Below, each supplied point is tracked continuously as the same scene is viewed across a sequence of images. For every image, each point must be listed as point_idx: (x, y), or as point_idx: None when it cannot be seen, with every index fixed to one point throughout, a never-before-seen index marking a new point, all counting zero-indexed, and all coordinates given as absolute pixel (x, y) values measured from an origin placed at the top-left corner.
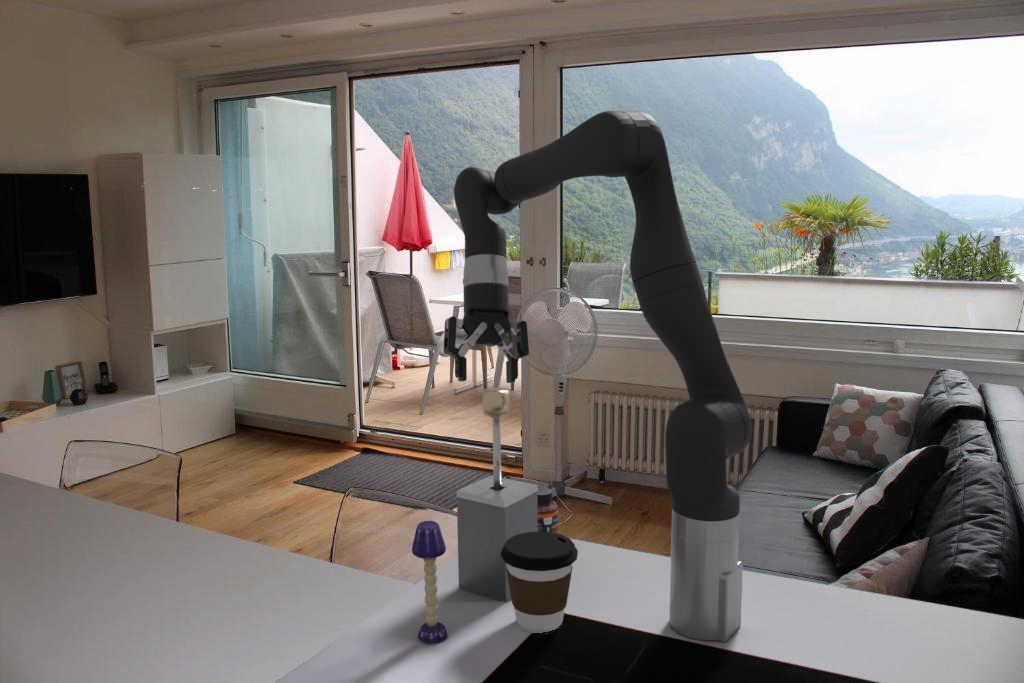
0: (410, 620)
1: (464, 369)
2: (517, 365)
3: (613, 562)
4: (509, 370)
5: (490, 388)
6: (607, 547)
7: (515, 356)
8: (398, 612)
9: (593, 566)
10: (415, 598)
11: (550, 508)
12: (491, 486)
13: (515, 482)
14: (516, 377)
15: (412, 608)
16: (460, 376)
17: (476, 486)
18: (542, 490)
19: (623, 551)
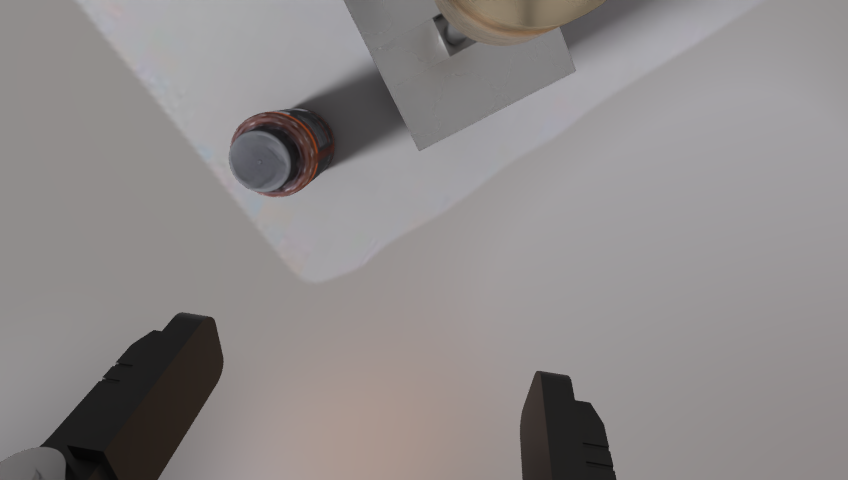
0: (645, 3)
1: (563, 433)
2: (77, 409)
3: (184, 26)
4: (171, 396)
5: (542, 8)
6: (161, 101)
7: (34, 465)
8: (647, 46)
9: (232, 31)
10: (595, 84)
11: (261, 116)
12: (468, 50)
13: (384, 45)
14: (152, 336)
15: (619, 48)
16: (577, 403)
17: (506, 76)
18: (253, 162)
19: (138, 65)
